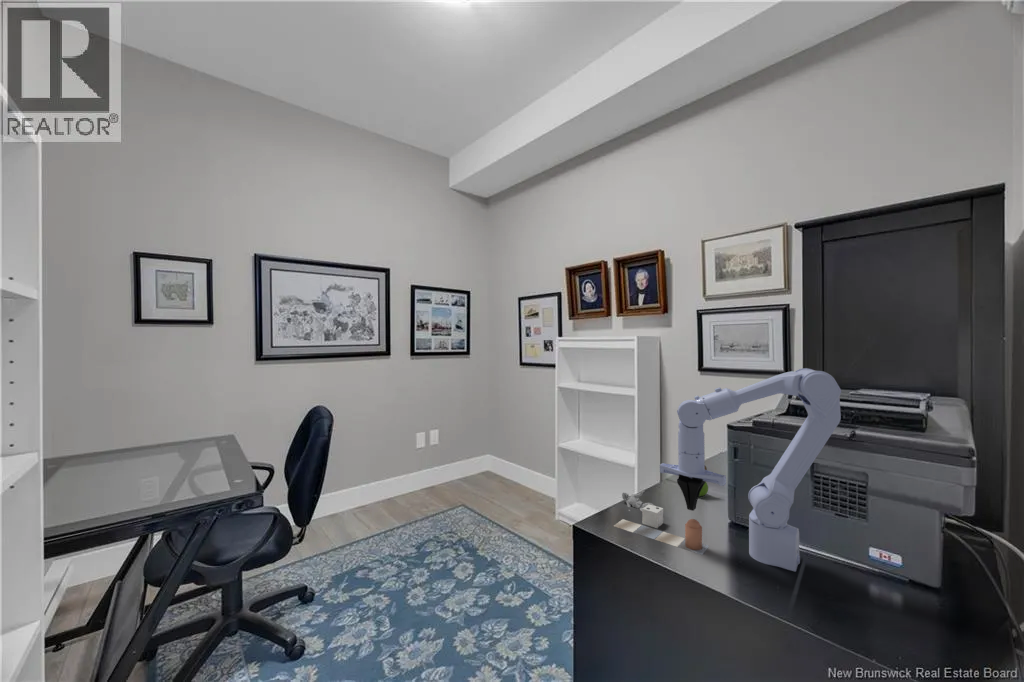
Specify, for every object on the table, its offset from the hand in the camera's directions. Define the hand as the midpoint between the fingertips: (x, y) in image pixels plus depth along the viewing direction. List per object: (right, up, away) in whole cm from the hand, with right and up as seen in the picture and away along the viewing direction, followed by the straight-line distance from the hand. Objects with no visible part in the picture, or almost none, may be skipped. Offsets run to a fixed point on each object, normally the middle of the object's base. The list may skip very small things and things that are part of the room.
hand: (691, 508), depth 97 cm
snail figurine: (+16, -10, +33) cm, 38 cm away
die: (-5, -9, +11) cm, 15 cm away
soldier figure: (-6, -10, +21) cm, 24 cm away
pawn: (0, -8, -1) cm, 8 cm away
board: (-5, -9, +6) cm, 12 cm away
